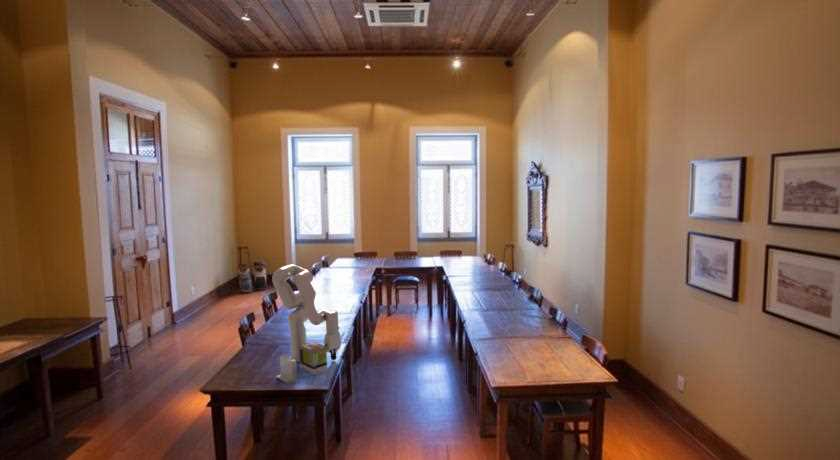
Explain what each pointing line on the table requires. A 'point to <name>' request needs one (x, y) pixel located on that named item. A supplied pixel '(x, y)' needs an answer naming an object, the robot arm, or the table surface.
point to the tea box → (313, 357)
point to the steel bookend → (287, 370)
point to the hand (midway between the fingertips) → (333, 359)
